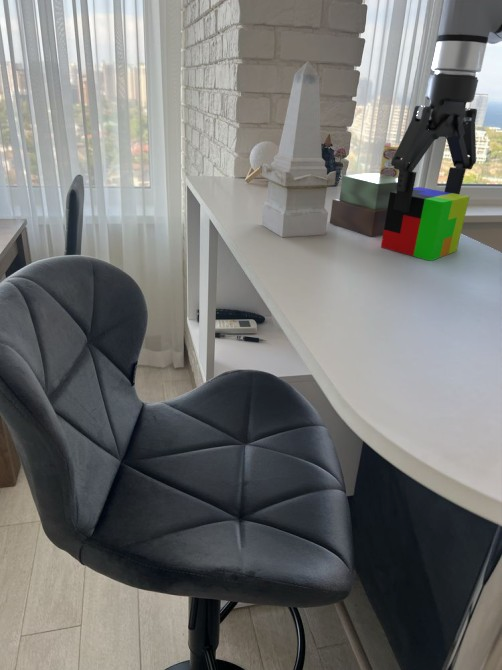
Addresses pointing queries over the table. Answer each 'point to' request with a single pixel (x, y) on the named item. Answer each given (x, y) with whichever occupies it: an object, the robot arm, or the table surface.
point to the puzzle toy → (425, 224)
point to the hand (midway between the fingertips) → (425, 207)
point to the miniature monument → (299, 166)
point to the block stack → (363, 203)
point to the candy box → (389, 160)
